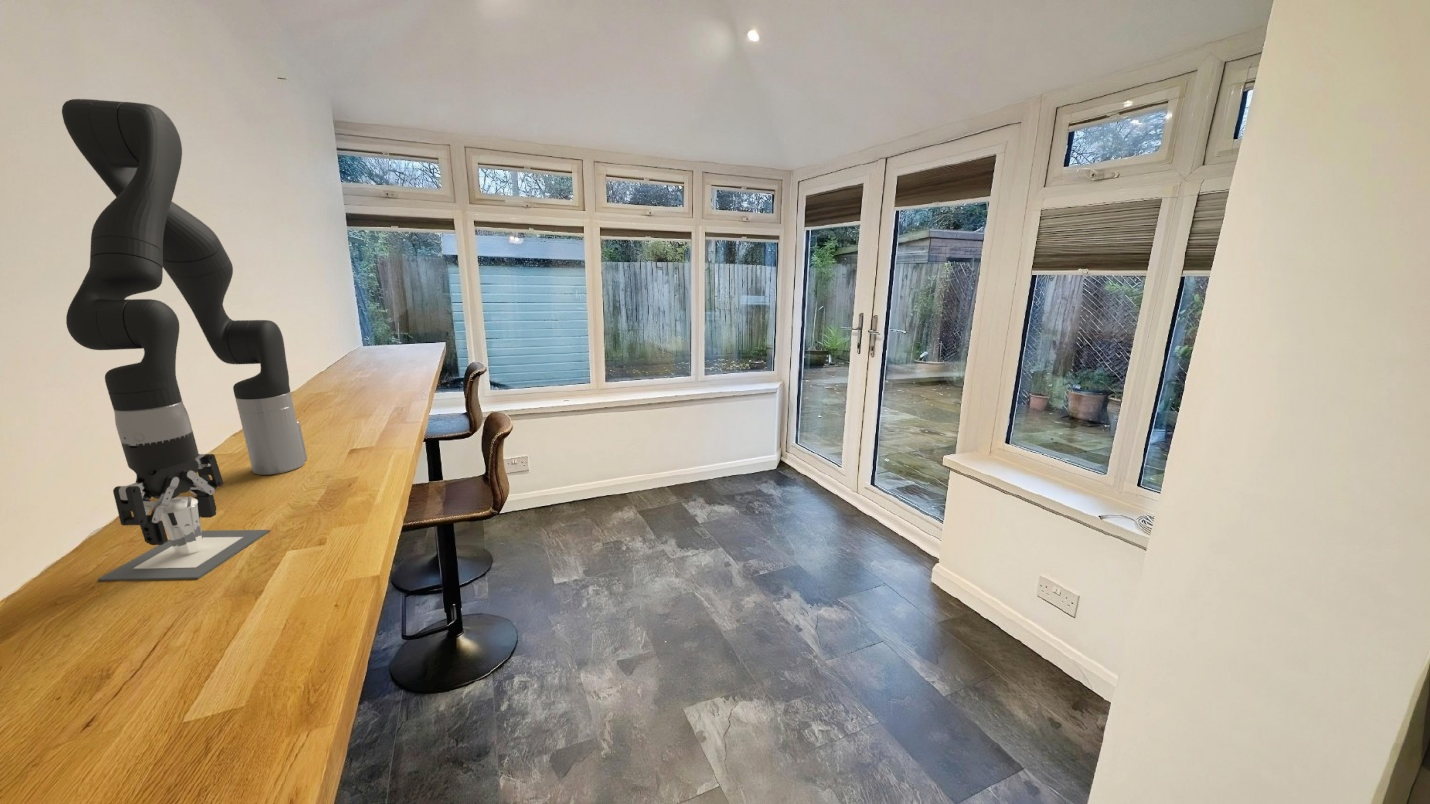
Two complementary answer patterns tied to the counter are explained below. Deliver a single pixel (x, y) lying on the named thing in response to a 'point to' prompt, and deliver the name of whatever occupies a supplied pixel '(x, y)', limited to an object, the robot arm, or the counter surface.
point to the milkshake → (183, 525)
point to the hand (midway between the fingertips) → (184, 529)
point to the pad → (186, 557)
